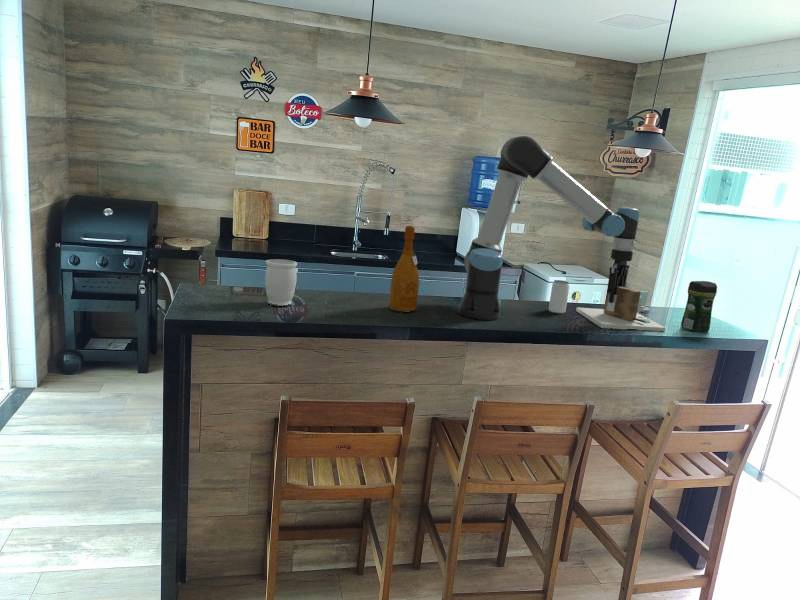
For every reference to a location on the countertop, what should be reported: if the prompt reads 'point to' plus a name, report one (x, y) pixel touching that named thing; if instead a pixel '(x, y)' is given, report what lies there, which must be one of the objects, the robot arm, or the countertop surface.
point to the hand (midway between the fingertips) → (612, 309)
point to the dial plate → (618, 320)
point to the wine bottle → (405, 277)
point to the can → (559, 296)
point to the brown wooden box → (625, 304)
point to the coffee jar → (699, 306)
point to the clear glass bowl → (643, 302)
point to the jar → (280, 281)
